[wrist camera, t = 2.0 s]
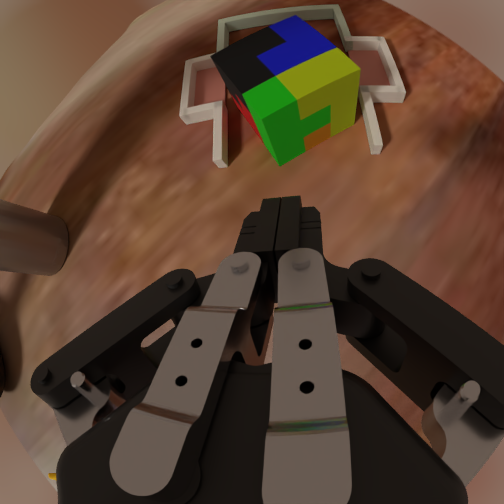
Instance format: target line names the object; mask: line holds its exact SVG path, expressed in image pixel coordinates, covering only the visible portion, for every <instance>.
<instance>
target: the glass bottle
mask: <svg viewBox="0 0 504 504" xmlns="http://www.w3.org/2000/svg"><path fill="white" fill-rule="evenodd" d="M4 385H5V372H4V366H3V361H2V358H1V355H0V397H1V395H2V393H3V389H4Z"/></svg>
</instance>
